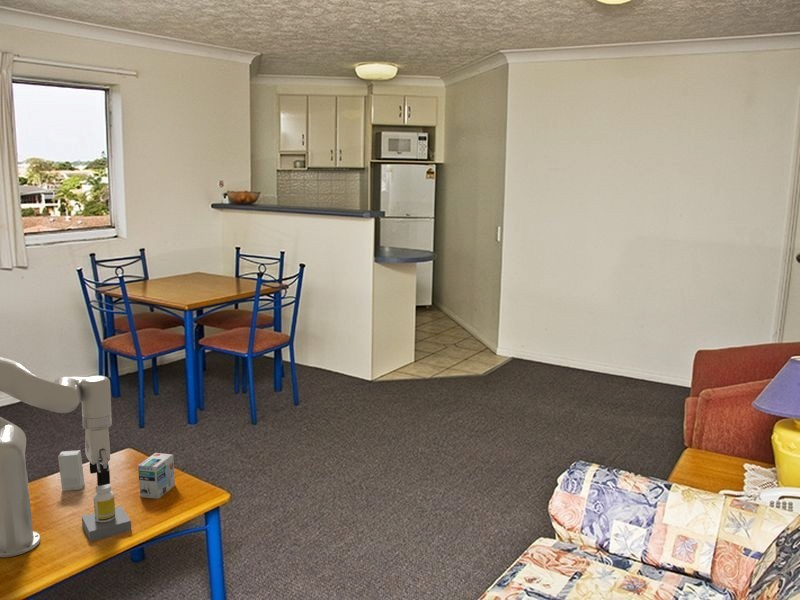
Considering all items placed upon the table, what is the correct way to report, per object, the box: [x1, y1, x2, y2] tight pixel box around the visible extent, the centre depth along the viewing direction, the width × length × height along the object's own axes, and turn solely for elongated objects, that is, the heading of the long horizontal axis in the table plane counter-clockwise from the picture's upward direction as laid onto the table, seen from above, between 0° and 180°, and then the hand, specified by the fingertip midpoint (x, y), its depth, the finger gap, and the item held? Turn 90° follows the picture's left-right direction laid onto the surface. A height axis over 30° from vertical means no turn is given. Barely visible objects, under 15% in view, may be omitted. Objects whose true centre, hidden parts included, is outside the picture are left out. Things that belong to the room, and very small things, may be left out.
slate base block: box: [81, 505, 133, 543], centre depth 203 cm, size 11×11×3 cm
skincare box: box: [57, 449, 85, 492], centre depth 228 cm, size 6×4×12 cm
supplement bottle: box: [93, 483, 116, 523], centre depth 202 cm, size 5×5×10 cm
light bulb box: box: [137, 452, 176, 500], centre depth 226 cm, size 11×7×11 cm, turn 168°
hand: (99, 478), depth 200 cm, fingers open, 9 cm apart
